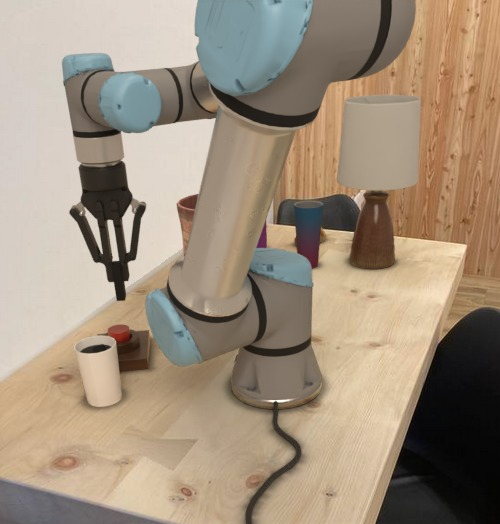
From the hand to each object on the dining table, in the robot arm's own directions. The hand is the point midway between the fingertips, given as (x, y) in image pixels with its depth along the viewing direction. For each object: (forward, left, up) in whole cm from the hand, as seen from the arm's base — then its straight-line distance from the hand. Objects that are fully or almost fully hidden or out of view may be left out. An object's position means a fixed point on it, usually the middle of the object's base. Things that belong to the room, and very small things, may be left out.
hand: (121, 297), depth 115 cm
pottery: (+37, -20, -11) cm, 44 cm away
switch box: (-2, +1, -11) cm, 11 cm away
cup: (+40, -42, -11) cm, 59 cm away
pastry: (+58, -46, -11) cm, 75 cm away
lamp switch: (-2, +1, -7) cm, 8 cm away
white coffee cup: (-17, +3, -11) cm, 20 cm away
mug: (+53, -28, -11) cm, 61 cm away
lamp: (+39, -58, -11) cm, 71 cm away
